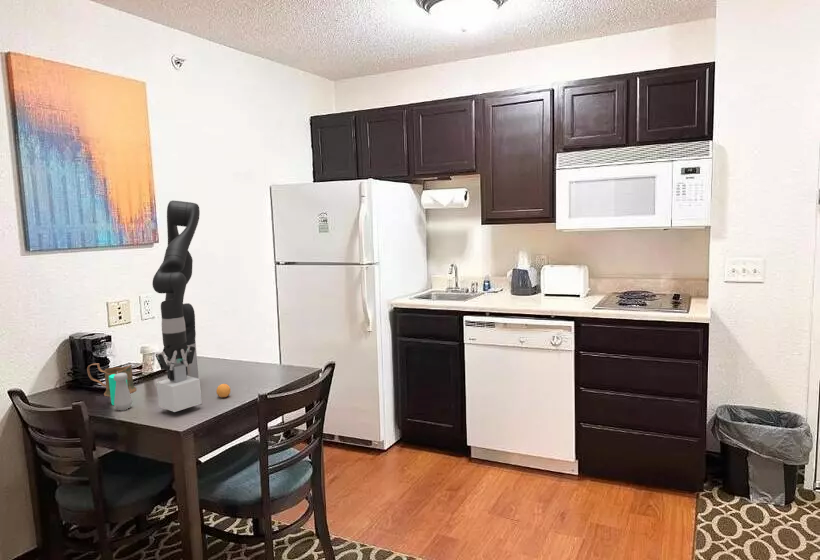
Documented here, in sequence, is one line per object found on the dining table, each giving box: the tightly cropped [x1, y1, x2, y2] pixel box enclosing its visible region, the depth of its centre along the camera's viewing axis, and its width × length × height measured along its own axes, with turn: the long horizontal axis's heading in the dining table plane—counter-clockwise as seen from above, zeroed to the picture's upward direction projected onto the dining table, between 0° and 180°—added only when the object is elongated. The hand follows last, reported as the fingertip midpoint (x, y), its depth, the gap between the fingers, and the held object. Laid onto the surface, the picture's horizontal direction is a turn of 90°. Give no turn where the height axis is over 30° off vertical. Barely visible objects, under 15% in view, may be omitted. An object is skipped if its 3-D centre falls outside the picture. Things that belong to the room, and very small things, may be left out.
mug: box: [86, 362, 137, 398], centre depth 224 cm, size 12×18×12 cm, turn 91°
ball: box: [216, 383, 231, 398], centre depth 212 cm, size 5×5×5 cm
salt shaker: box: [113, 373, 133, 411], centre depth 203 cm, size 6×6×13 cm
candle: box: [109, 373, 128, 406], centre depth 210 cm, size 6×6×12 cm
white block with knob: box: [156, 363, 202, 413], centre depth 197 cm, size 10×10×14 cm
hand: (178, 378), depth 197 cm, fingers closed on white block with knob, 4 cm apart
